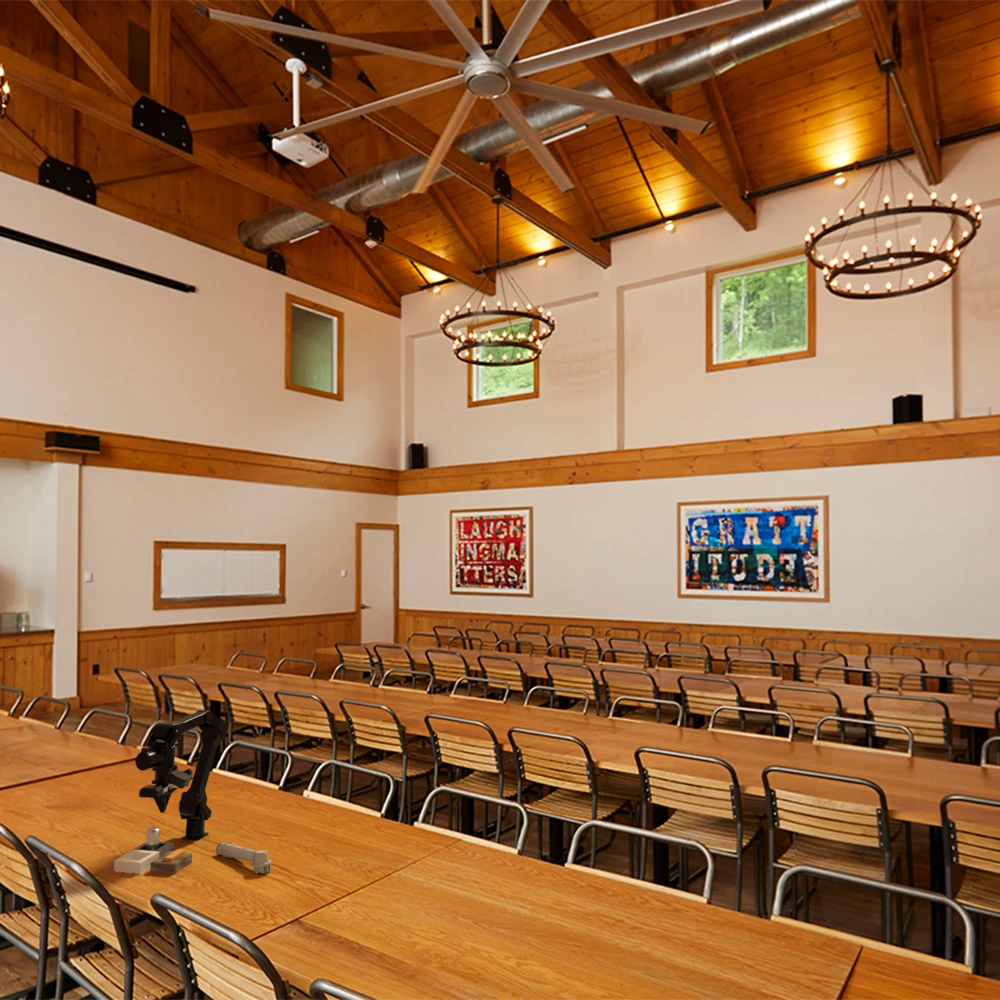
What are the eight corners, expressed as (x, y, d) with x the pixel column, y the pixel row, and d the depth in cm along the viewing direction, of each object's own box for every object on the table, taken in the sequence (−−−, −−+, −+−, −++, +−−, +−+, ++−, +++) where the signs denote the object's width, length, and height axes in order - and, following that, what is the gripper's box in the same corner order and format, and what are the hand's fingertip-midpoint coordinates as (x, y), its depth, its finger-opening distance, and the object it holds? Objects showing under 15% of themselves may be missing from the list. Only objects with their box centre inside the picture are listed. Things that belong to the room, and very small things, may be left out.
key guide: (168, 861, 243) (168, 851, 243) (191, 863, 241) (192, 853, 241) (150, 872, 234) (150, 862, 234) (174, 875, 232) (174, 864, 232)
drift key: (177, 860, 243) (178, 849, 243) (185, 861, 242) (185, 849, 243) (164, 869, 236) (164, 857, 236) (171, 869, 236) (172, 858, 236)
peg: (150, 851, 250) (151, 826, 251) (161, 852, 250) (162, 827, 250) (142, 856, 247) (143, 830, 247) (153, 857, 246) (155, 831, 246)
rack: (133, 861, 243) (133, 849, 243) (158, 863, 241) (159, 851, 241) (113, 872, 234) (114, 860, 234) (140, 874, 232) (140, 862, 233)
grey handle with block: (228, 839, 252) (274, 846, 237) (229, 861, 251) (275, 869, 236) (213, 844, 248) (259, 851, 233) (214, 866, 247) (260, 875, 232)
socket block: (148, 848, 253) (148, 840, 254) (173, 850, 252) (173, 842, 252) (130, 858, 245) (130, 850, 245) (156, 861, 243) (156, 852, 243)
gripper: (172, 771, 240) (170, 823, 239) (203, 757, 259) (201, 805, 257) (139, 770, 242) (136, 821, 240) (171, 755, 260) (169, 803, 259)
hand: (162, 812), depth 249 cm, fingers closed
